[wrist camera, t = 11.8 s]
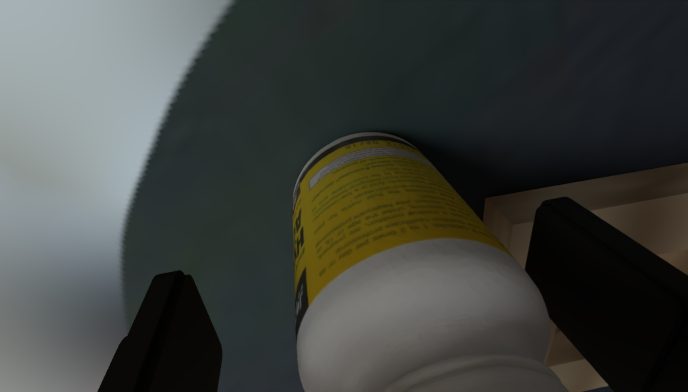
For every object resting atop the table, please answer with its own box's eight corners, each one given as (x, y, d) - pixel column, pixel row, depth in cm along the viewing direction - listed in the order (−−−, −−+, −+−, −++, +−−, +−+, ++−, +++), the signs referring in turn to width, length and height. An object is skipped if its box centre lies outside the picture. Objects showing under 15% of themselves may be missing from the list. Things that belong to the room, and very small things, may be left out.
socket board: (749, 151, 15) (809, 170, 13) (658, 337, 21) (691, 367, 19) (485, 198, 14) (513, 224, 13) (466, 378, 20) (483, 413, 18)
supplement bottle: (266, 161, 12) (223, 523, 4) (413, 105, 12) (726, 350, 3) (321, 270, 15) (371, 627, 6) (442, 226, 15) (659, 532, 6)
